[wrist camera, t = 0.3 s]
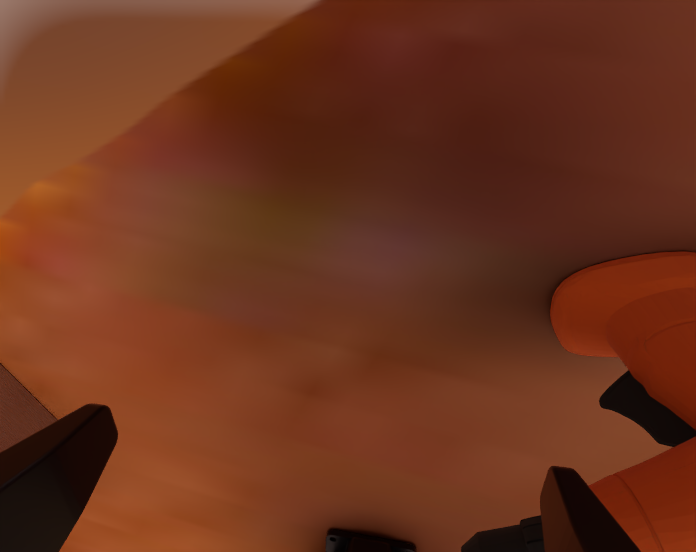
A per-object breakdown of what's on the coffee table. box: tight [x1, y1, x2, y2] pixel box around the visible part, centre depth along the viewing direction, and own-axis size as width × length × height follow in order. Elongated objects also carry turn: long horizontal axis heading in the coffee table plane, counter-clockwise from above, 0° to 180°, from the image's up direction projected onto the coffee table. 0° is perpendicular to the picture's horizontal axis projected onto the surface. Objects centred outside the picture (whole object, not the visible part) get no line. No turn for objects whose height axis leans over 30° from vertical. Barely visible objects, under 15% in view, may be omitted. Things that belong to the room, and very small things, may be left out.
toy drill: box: [461, 251, 696, 552], centre depth 17 cm, size 5×19×15 cm, turn 109°
